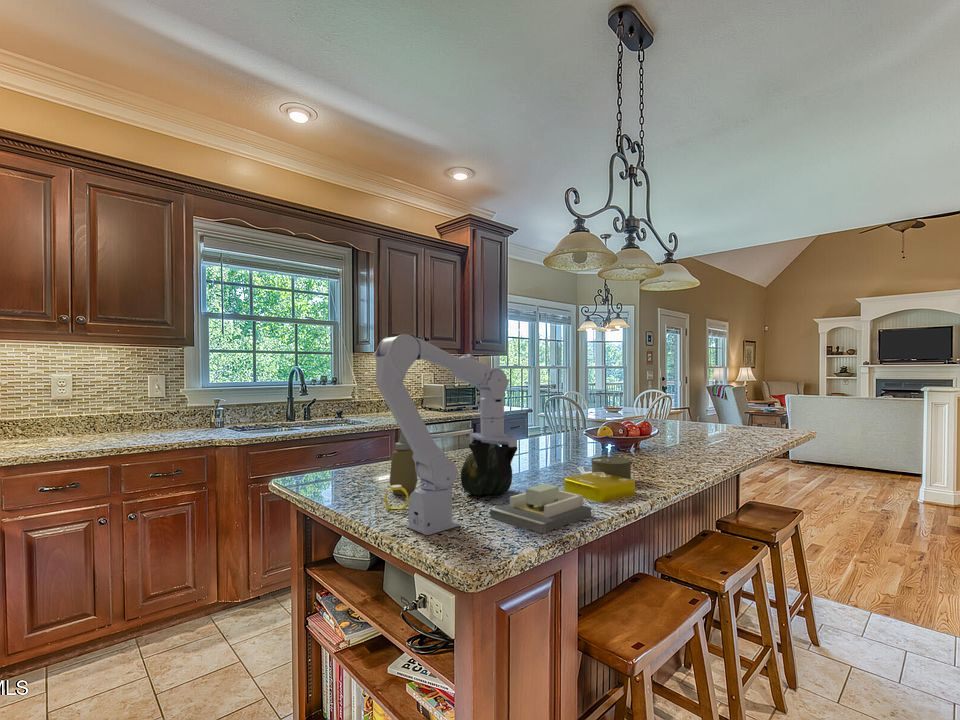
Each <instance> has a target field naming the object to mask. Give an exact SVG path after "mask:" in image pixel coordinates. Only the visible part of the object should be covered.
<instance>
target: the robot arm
mask: <svg viewBox="0 0 960 720" xmlns="http://www.w3.org/2000/svg"><path fill="white" fill-rule="evenodd" d="M374 359H375V361H376V365H375V366H376V367H375V384H376V386H377V389H378V390H379V392H380V394H381V396H382V398H383V400H384V401H385V403H386V405H387V408H388V409H389V410H390V412H391V414H392V416H393V418H394V420H395V421H396V423H397V425H398V427H399V429H400V432H401V431H402V433H403V434H404V436H405V438H406V440H407V442H408V443H409V445H410V447H411V450H412V451H413V456H412V458H413V460H414V462H415V469H416V474H417V478H419V479H420V481H419V482H420V483H419V487H418V489H417V490H416V489H415V490H414V491H413V492H412V493H411V494H409V495H408V496H409V500H408V524H406V527H407V528H408V529H411V530H413V531H415V532H418V533H420V534H423V535H425V536H430V535H434V534H437V533H440V532H443V531H444V532H445V531H447V530H450V529H454V528H456V527H460V526H461V522H458V521H456V520H453V484H454V483H455V481H456V480H457V476H458V468H457V467H458V466H456V463H455V462H454V461H452V460H451V459H449V458H448V456H446V453H445V452H444V451H443V450H442V449H441V448H440V447H439V445H438V444H436V442H435V440H434V438H433V436H432V435H431V433H430V431H429V429H428V428H427V426H426V424H425V422H424V419H423V418H422V416H421V414H420V413H419V410H418V409H417V407H416V404H415V402H414V401H413V399H412V397H411V395H410V393H409V392H408V390H407V388H406V386H405V384H404V380H405V377H406V375H407V372H408V370H409V369H410V368H411V366H412V365H413V364H414V363H415V362H416V361H418V360H419V361H420V360H421V361H422V360H424V361H426V362H430V363H431V364H434V365H436V366H439V367H442V368H444V369H448V370H450V371H451V372H452V373H453V376H454V378H455V379H458V380H459V381H460V380H461V382H465V383H468V384H469V385H472V386H475V387H476V388H477V389H478V391H480V393H479V394H480V395H479V396H480V397H479V398H480V399H479V400H480V401H479V402H480V432H471V433H470V434H469V441H470V442H472V443H469V444H468V448H469V449H470V451H471V454H472V453H473V455H474V457H475V460H476V464H477V468H478V472H483V471H486V469H487V455H488V450H489V446H490V444H497V445H499V446H500V447H495V450H496V453H497V456H498V461H499V473H500V477H505V476H508V473H509V469H510V465H511V464H512V461H513V459H514V457H515V455H516V453H517V451H518V438H517V437H512V436H508V435H507V434H505V396H506V389H507V388H508V386H509V383H510V379H508V378H507V375H506V373H505V371H504V370H503V369H502V368H501V369H500V368H497V367H496V368H494V367H493V368H492V367H491V364H490V363H487V362H485V363H483V362H481V361H479V360H477V359H475V356H474V355H472V354H467V355H462V356H459V357H457V356H455V355H453V354H451V353H449V352H447V351H445V350H443V349H442V348H439V347H438V346H435V345H433V344H431V343H429V342H427V341H426V340H424V339H422V338H419V337H414V336H412V335H411V334H408V333H407V334H406V333H404V334H400V335H397V336H388V337H387V336H386V337H384V338H383V339H381V341H380V342H379V344H378V346H377V347H376V350H375V352H374ZM511 466H512V465H511Z"/></svg>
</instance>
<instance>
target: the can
mask: <svg viewBox="0 0 960 720" xmlns="http://www.w3.org/2000/svg"><path fill="white" fill-rule="evenodd" d="M590 460H591V473H593V472H603V473H605V474H610V475H614V476H619V477H623V478H627V479H632V478H631V476H632V475H631V473H632V472H631V471H632V470H631V469H632V468H631V466H632V465H631V464H632V460H631V459H629V458H626V457H620V456H619V457H618V456H597V457H596V456H595V457H592V458H591V459H590Z"/></svg>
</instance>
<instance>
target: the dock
mask: <svg viewBox="0 0 960 720" xmlns="http://www.w3.org/2000/svg"><path fill="white" fill-rule="evenodd" d="M489 515H490V517H489V518H491V519H494V520H497V521H500V522H503V523H506V524H509V525H512V526H516V527H518V526H519V528H522V529H525V528H526V529H525V530H528V529H529V530H528V531H531V530H533V531H532V532H534V531H536V532H535V533H537V532H539V533H538V534H540V533H544V534H546V533H545V532H547V533H549V532H552V531H554V530H553V529H555V530H557V529H556V528H558V529H559V527H560V528H562V527H561V526H563V527H565V526H564V525H566V526H568V525H571V524H573V522H574V523H577V522H579V521H581V520H584V519H587V518H589V517H591V516H592V507H590V506H586V505H584V498H583V495H579V494H574V493H570V492H565V490H560V489H559V501H557V502H554V503H550V504H547V505H544V511H541V510H539V508H538V506H536V505H534V506H533V507H532V508H530V507H528V506H527V503H526V492H523V493H519V494H515V495H511V496H509V503H507V504H504V505H500V506H496V507H492V508H490V510H489ZM570 523H571V524H570ZM567 524H568V525H567ZM551 530H552V531H551ZM548 531H549V532H548Z"/></svg>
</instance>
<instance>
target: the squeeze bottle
mask: <svg viewBox="0 0 960 720" xmlns="http://www.w3.org/2000/svg"><path fill="white" fill-rule="evenodd" d="M394 446H395V447H394V449H395V450H393V451H392V453H391V460H390V461H391V463H390V471H389V484H390V487H391V486H392V485H401V486H402V488H404V489H405V490H406V491H407V493H408V495H410V494H411V493H412V492H413V491H416V488H417V487H416V486H417V483H418V476H417V474H416V469H415V462H414V460H413V458H412V456H413V451H412V449H411V447H410V445H409V443H408V442H407V440H406V438H405V436H404V434H403V433H402V431H401V430H400V435H399V440H398V442H396V443H394ZM391 491H392V493H393V495H397V496H406V494H405V493H404V491H402V490H400V489H399V490H391Z"/></svg>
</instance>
